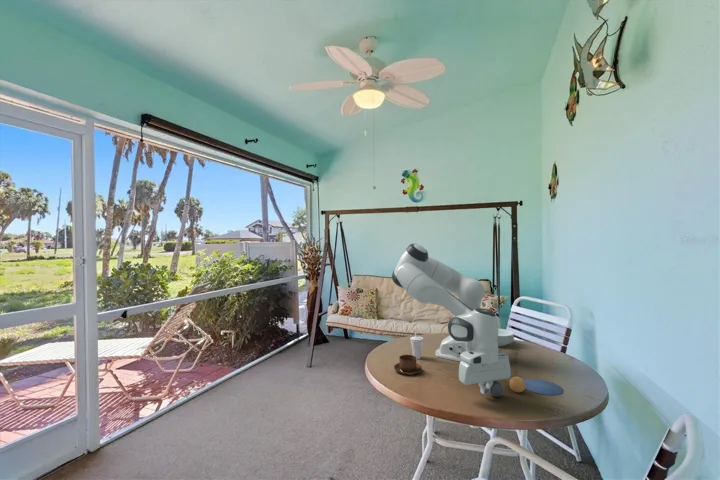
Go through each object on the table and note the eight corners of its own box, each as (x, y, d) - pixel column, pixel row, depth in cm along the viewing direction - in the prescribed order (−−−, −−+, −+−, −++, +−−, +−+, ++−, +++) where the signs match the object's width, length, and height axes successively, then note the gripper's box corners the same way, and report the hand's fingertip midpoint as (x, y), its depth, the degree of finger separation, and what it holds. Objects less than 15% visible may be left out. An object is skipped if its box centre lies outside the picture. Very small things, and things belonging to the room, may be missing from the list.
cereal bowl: (520, 348, 177) (520, 335, 177) (489, 349, 177) (489, 336, 177) (504, 339, 194) (504, 327, 194) (476, 340, 193) (476, 327, 194)
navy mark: (521, 390, 127) (521, 390, 127) (521, 377, 140) (521, 376, 140) (564, 398, 121) (564, 397, 121) (560, 383, 134) (560, 382, 134)
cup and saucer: (388, 372, 147) (388, 357, 147) (404, 364, 156) (404, 351, 156) (411, 379, 139) (411, 364, 139) (427, 371, 148) (427, 357, 148)
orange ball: (509, 393, 125) (509, 378, 125) (509, 387, 130) (509, 373, 130) (525, 396, 123) (525, 381, 123) (525, 390, 128) (525, 375, 128)
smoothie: (408, 355, 167) (408, 327, 167) (421, 355, 168) (421, 327, 168) (412, 360, 161) (411, 331, 161) (425, 359, 161) (424, 330, 161)
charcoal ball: (485, 387, 121) (494, 375, 123) (483, 390, 126) (492, 378, 127) (499, 399, 119) (508, 387, 120) (496, 401, 123) (505, 389, 125)
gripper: (502, 349, 128) (502, 385, 128) (456, 354, 122) (456, 393, 121) (514, 354, 122) (515, 392, 122) (466, 360, 116) (467, 400, 116)
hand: (485, 393), depth 122 cm, fingers closed
